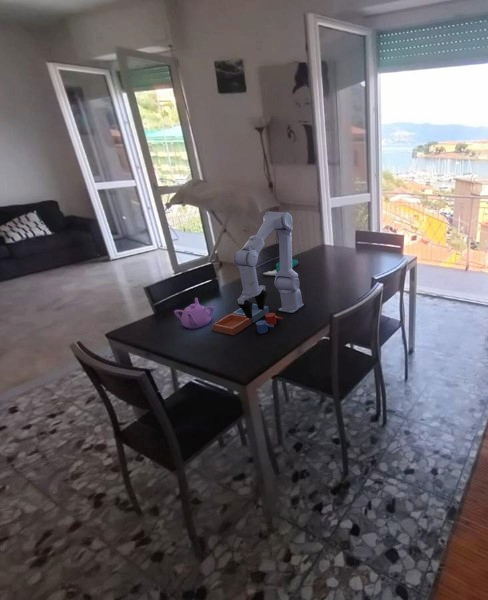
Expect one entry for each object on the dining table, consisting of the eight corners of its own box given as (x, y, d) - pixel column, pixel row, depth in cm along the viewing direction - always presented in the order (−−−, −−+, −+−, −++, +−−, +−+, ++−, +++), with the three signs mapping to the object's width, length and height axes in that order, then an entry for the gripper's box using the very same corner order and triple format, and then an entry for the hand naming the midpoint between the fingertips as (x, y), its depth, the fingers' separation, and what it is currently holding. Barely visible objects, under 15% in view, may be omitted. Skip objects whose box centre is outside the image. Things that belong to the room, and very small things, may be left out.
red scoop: (264, 324, 150) (263, 316, 148) (270, 320, 153) (269, 312, 151) (280, 327, 147) (279, 319, 145) (286, 323, 150) (285, 315, 149)
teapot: (193, 333, 143) (187, 313, 140) (174, 324, 150) (169, 305, 147) (219, 321, 153) (215, 303, 149) (200, 314, 159) (196, 296, 156)
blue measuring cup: (255, 332, 143) (253, 323, 142) (261, 328, 147) (260, 319, 145) (271, 336, 141) (270, 327, 139) (278, 331, 144) (276, 322, 142)
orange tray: (232, 319, 154) (231, 313, 153) (251, 323, 151) (250, 317, 149) (213, 330, 145) (211, 324, 144) (233, 335, 142) (232, 328, 140)
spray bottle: (300, 264, 223) (277, 277, 202) (285, 262, 226) (261, 276, 205) (299, 259, 221) (276, 273, 200) (284, 258, 225) (260, 271, 204)
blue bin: (250, 308, 164) (249, 303, 163) (269, 312, 160) (268, 306, 159) (233, 318, 155) (232, 312, 154) (253, 322, 151) (252, 316, 150)
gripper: (252, 274, 141) (258, 304, 147) (227, 287, 129) (234, 320, 134) (267, 275, 139) (272, 306, 145) (244, 289, 127) (250, 322, 132)
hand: (255, 313), depth 140 cm, fingers open, 7 cm apart
